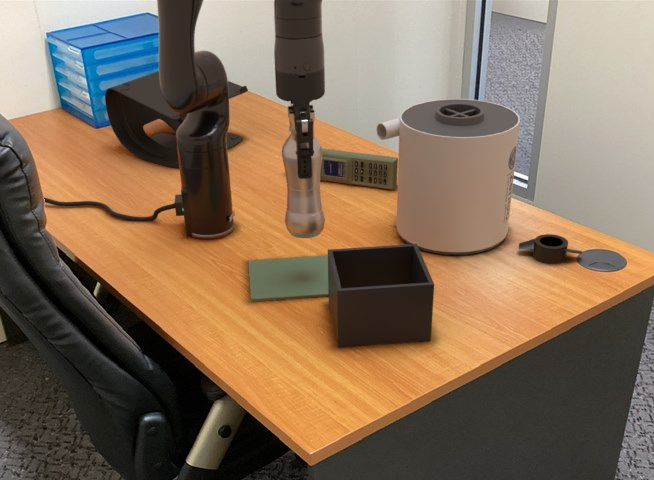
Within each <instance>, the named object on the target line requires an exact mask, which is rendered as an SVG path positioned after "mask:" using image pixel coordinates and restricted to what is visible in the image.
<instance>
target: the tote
mask: <svg viewBox="0 0 654 480" xmlns="http://www.w3.org/2000/svg"><path fill="white" fill-rule="evenodd" d="M327 255H328V296H327V297H328V307H329V312H330V317H331V321H332V325H333V330H334V336H335V340H336V344H337V348H347V347H348V348H350V347H363V346H377V345H390V344H405V343H418V342H430V341H431V340H432V327H433V325H432V324H433V311H434V295H435V283H434V280H433V277H432V275H431V274H430V271H429V269H428V266H427V264H426V262H425V260H424V257H423V255H422V252H421V249H419V248H418V246H417V244H408V243H406V244H395V245H391V244H390V245H379V246H376V245H375V246H361V247H348V248H347V247H346V248H335V249H334V248H332V249H331V248H330V249H327Z"/></svg>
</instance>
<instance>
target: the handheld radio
mask: <svg viewBox="0 0 654 480" xmlns="http://www.w3.org/2000/svg"><path fill="white" fill-rule="evenodd" d="M322 150H323V153H322V163H321V172H320V182H321V181H322V182H329V183H337V184H343V185H353V186H360V187H366V188H367V187H368V188H374V189H382V190H391V191H396V189H398V159H399V157H397V156H388V155H381V154H372V153H362V152H355V151H346V150H338V149H337V150H336V149H330V148H322Z"/></svg>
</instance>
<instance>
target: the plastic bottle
mask: <svg viewBox="0 0 654 480" xmlns="http://www.w3.org/2000/svg"><path fill="white" fill-rule="evenodd" d="M288 131H289V132H290V134H289V135H288V137H287V138H286V140H285V141H284V143H283V144H282V148H281V158H282V162H283V167H284V172H285V173H284V174H285V179H286V180H285V181H286V189H287V191H286V209H285V215H284V222H285V226H286V231H287V232H288V233H289V234H290V235H291V236H292V237H295V238H298V239H312V238H315V237H318V236H320V234H322V232H323V230H324V228H325V222H326V218H325V212H324V209H323V203H322V195H321V180H320V172H321V163H322V153H323V150H322V149H323V148H322V144H321V142H320V141H319V140H318V138H317V137H316V136H315V137H314V139H313V150H314V154H313V156H311V159H312V177H311V178H308V179H300V178H299V177H298V168H297V155H296V143H295V142H294V141H293V140H292V127H291V123H289V126H288ZM295 132H296V130H295ZM296 134H297V132H296ZM300 148H309V147H308V143H301V144H300Z"/></svg>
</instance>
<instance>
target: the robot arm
mask: <svg viewBox="0 0 654 480" xmlns="http://www.w3.org/2000/svg"><path fill="white" fill-rule="evenodd" d="M203 3H204V0H156V4H157V20H158V21H157V23H158V71H159V81H160V87H161V92H162V95H163V98H164V100H165V102H166V104H167V105H168V106H169V108H170V109H171V110H173V111H174V112H176V113H178V114H187V116H186V118H185V120H184V121H183V123H182V124H181V125H180V126H179V127H178V129H177V131H175V135H176V144H177V152H178V161H179V168H178V169H179V176H180V177H179V178H180V194H174V195H175V197H174V202H173V203H170V204H167V205H163V206H159V207H157V208H156V209H155V210H154V212H153V214H152V215H150V216H149V215H148V216H133V215H129V214H123V213H119V212H116V211H114V210H113V209H111V208H110V206H108V205H107V204H105V203H104V202H99V201H94V200H82V201H81V200H80V201H79V200H78V201H60V200H59V201H58V200H55V199H52V198H48V197H44V199H45V202H44V203H46V204H49V205H52V206H57V207H63V208H65V207H68V208H69V207H98V208H100V209H103V210H104V211H106V213H108V215H110V216H112V217H114V218H116V219H121V220H125V221H130V222H152V221H155V220H156V219H157V218H158V216H159V215H160V214H161V213H162V212H165V211H169V210H173V209H174V211H175V217H182V216H183V221H184V228H185V236H186V238H194V239H201V240H213V239H219V238H222V237H226V236H228V235H230V234H231V233H232V232H233V231H234V230H235V220H234V217H235V215H236V214H235V210H234V209H233V197H232V187H231V186H232V185H231V176H230V165H229V164H230V162H229V151H228V150H229V149H228V150H227V132H228V133H229V129H230V124H231V123H230V121H231V119H230V117H231V116H230V99H229V88H228V81H229V79H228V75H227V71H226V68H225V66H224V64H223V62H222V60H221V58H219V56H217V55H216V54H215V53H213V52H212V51H210V50H197V51H196V50H195V49H196V48H195V36H196V28H197V22H198V18H199V15H200V13H201V9H202V7H203ZM322 4H323V0H273V19H274V20H273V22H274V46H273V55H274V56H273V57H274V76H275V95H276V96H277V98H278V99H280V100H281V101H284V102H290V105H287V114H288V115H287V116H288V119H289V124H290V123H291V127H292V140H293V141H294V142H295V143H296V155H297V168H298V177H299V178H300V179H308V178H311V177H312V159H311V156H313V154H314V150H313V139H314V137H316V136H315V120H316V113H315V109H314V105H313V104H310V103H311V102H312V101H313V102H314V101H317V100H319V99H321V98H323V97H324V96H325V94H326V79H325V78H326V77H325V76H326V75H325V74H326V73H325V72H326V71H325V45H324V44H325V43H324V39H323V38H324V37H323V9H322V6H323V5H322ZM295 130H296V132H297V134H296V132H295ZM301 143H308V147H309V148H300V144H301Z"/></svg>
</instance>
